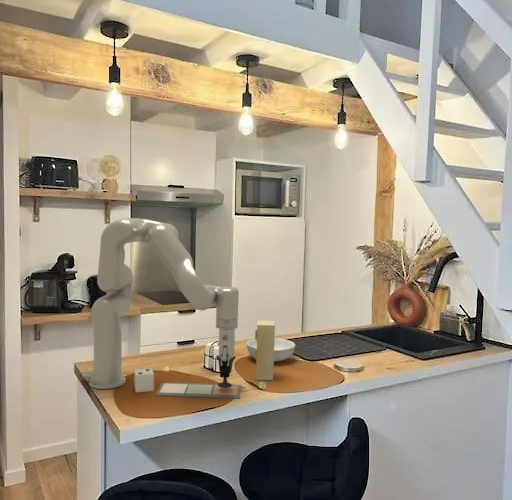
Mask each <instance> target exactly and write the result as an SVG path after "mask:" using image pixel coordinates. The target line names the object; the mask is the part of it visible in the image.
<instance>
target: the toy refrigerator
mask: <svg viewBox="0 0 512 500" xmlns="http://www.w3.org/2000/svg"><path fill="white" fill-rule="evenodd" d="M254 330H255V332H254V333H255V337H254V339H255V340H257V350H255V358H254V359H255V361H256V365H255V367H256V368H255V370H256V371H255V380H256V381H274V374H275V373H274V369H275V364H274V363H275V362H274V338H276V336H275V334H276V333H275V330H276V324H275V320H257V324H256V329H254Z"/></svg>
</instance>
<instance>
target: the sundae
mask: <svg viewBox="0 0 512 500" xmlns="http://www.w3.org/2000/svg"><path fill="white" fill-rule="evenodd" d="M215 357H216V360H217V361H218V370H219V371H220V365H221V357H219V354H218V355H216V356H215ZM222 357H223V356H222ZM227 357H228V355H227ZM236 358H237V357H236V356H235V355H234V356H233V358H231V357H229V366H230V373H229V375H230V374H231V373H232V370H233V363H234V361H235V359H236ZM226 360H227V361H228V359H226ZM217 384H218V386H219V387H221V388H229V387H231V386H232V384H233V383H230V382H228V378H227V377H223V380H222V382H219V383H217Z"/></svg>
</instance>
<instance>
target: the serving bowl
mask: <svg viewBox="0 0 512 500" xmlns="http://www.w3.org/2000/svg"><path fill="white" fill-rule="evenodd" d="M295 347H296V344H295V342H293V341H291V340H288V339H284V338H278V337H275V338H274V363H275V362H280V361H285V360H287V359H289V358H290V357H291V356H292V355H293V354H294V352H295V349H296V348H295ZM246 348H247V349H246V350H247V351H248V353H249V354H250V356H251V357H252V358H254V359H255V350H257V340H255V338H252V339H249V340H247V342H246Z"/></svg>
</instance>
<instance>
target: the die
mask: <svg viewBox="0 0 512 500" xmlns="http://www.w3.org/2000/svg"><path fill="white" fill-rule="evenodd" d="M133 373H134V374H133V375H134V376H133V378H134V379H133V385H134V386H133V388H134V391H135V393H145V392H154V391H155V387H154V386H155V382H154V381H155V373H154V370H153V369H152V368H151V367H150V368H140V369H134V371H133Z"/></svg>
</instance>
